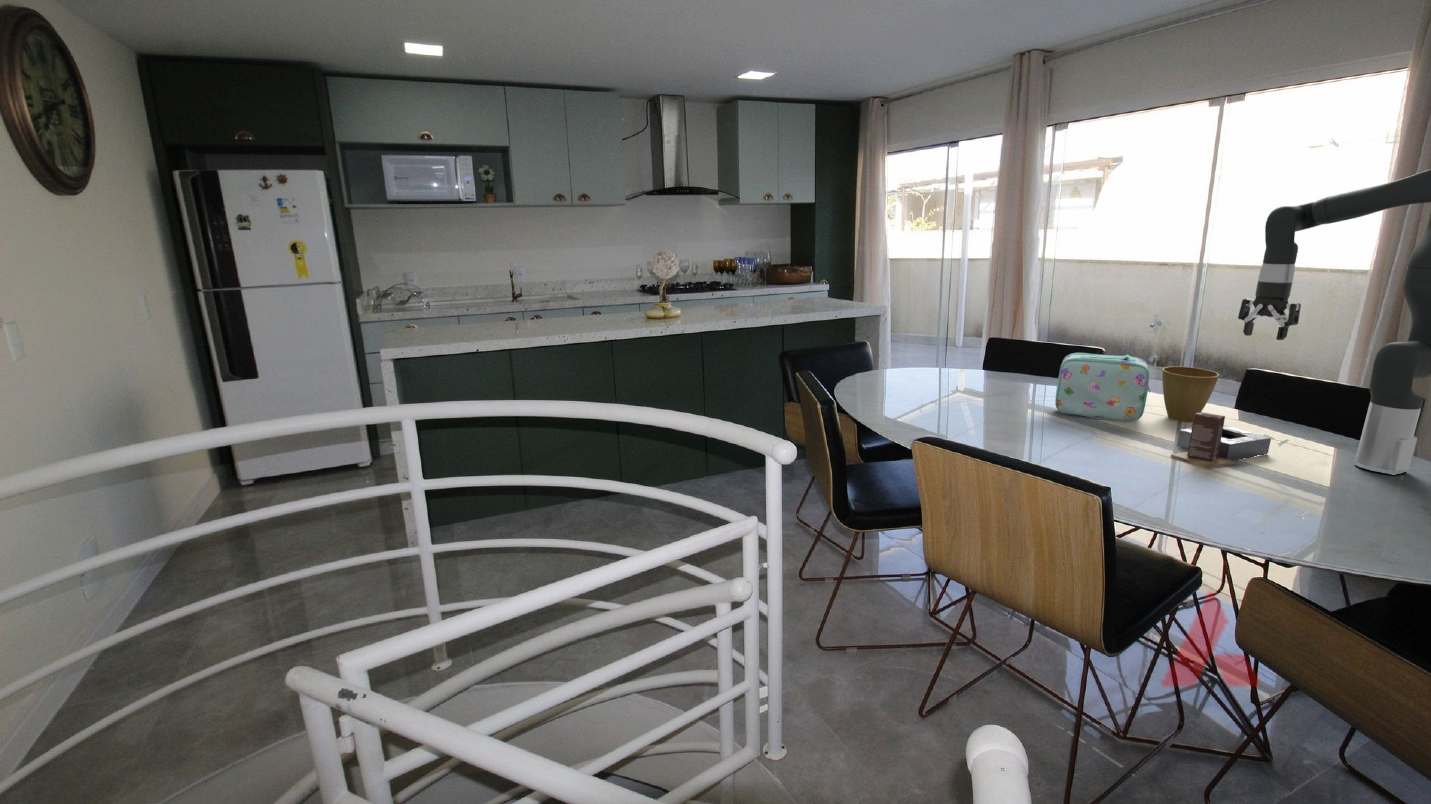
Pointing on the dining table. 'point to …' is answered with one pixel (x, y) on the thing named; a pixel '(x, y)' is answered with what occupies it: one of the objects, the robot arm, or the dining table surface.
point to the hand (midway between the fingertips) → (1263, 337)
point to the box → (1206, 436)
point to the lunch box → (1103, 386)
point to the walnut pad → (1202, 461)
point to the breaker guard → (1233, 443)
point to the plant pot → (1186, 391)
